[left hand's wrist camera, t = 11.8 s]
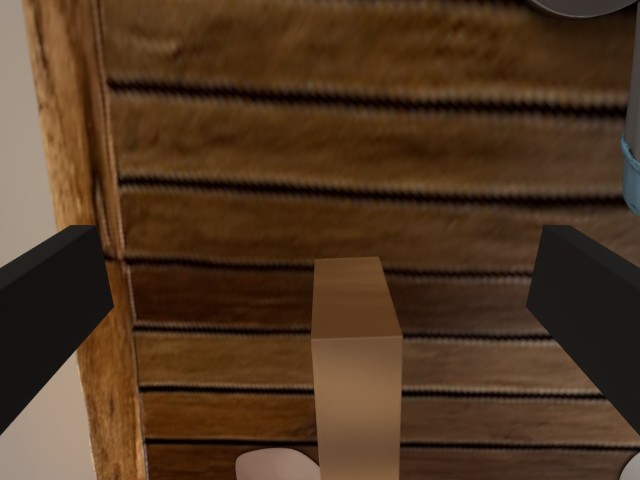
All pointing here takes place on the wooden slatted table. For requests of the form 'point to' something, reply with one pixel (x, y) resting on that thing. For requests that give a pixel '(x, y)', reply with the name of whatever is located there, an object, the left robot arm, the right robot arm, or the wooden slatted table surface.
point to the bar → (356, 370)
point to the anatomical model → (276, 465)
